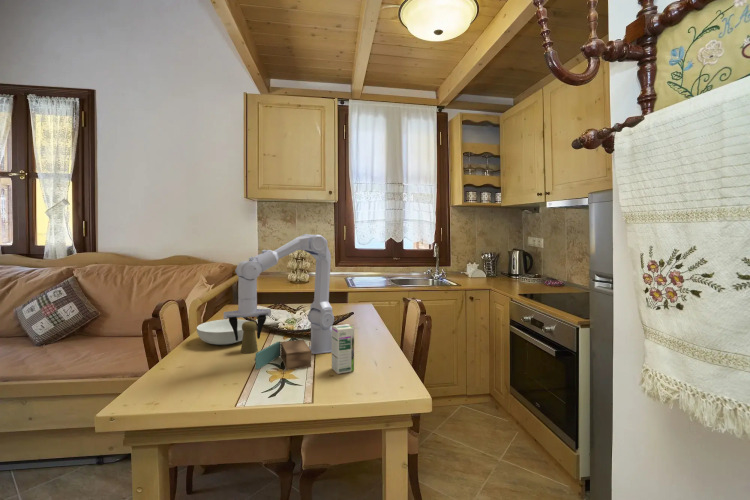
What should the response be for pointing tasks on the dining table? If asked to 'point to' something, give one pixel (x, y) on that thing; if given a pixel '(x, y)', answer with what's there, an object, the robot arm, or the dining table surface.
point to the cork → (249, 338)
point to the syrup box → (343, 348)
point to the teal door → (268, 354)
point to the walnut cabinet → (295, 354)
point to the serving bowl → (220, 332)
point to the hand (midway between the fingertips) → (247, 338)
